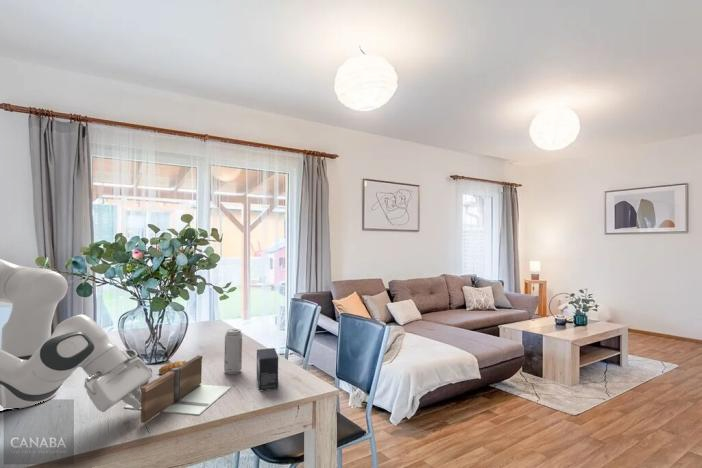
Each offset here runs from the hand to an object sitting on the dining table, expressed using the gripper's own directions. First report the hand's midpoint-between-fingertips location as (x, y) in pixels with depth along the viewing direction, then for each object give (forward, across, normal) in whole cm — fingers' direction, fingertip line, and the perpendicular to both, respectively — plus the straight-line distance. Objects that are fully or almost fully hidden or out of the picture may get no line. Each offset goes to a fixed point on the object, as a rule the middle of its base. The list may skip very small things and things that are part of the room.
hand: (141, 406), depth 100 cm
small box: (+21, +26, -19) cm, 38 cm away
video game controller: (-7, +25, +14) cm, 29 cm away
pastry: (-2, +36, +8) cm, 37 cm away
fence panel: (+4, +3, 0) cm, 5 cm away
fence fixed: (+6, +17, -2) cm, 18 cm away
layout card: (+6, +14, -1) cm, 16 cm away
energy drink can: (+12, +36, -8) cm, 39 cm away
